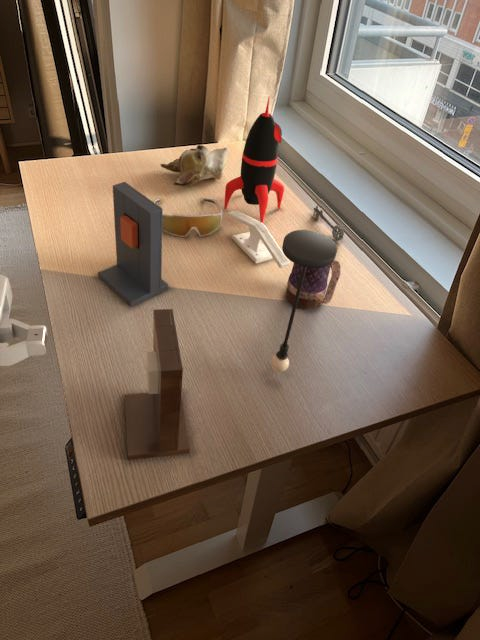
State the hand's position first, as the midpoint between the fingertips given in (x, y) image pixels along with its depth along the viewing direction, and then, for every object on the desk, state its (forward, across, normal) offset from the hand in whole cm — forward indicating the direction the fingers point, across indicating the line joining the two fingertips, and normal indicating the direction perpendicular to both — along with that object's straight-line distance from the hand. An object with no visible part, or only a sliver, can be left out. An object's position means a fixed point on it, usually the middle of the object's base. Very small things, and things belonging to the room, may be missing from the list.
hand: (46, 339), depth 56 cm
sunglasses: (+22, -52, -18) cm, 60 cm away
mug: (+41, -24, -18) cm, 51 cm away
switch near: (+11, -1, -9) cm, 15 cm away
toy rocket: (+38, -56, -18) cm, 70 cm away
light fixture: (+31, -7, -18) cm, 37 cm away
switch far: (+10, -31, -9) cm, 34 cm away
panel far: (+10, -32, -18) cm, 38 cm away
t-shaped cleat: (+34, -41, -18) cm, 57 cm away
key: (+53, -48, -18) cm, 74 cm away
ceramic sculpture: (+27, -70, -18) cm, 77 cm away
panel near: (+12, -1, -18) cm, 22 cm away
